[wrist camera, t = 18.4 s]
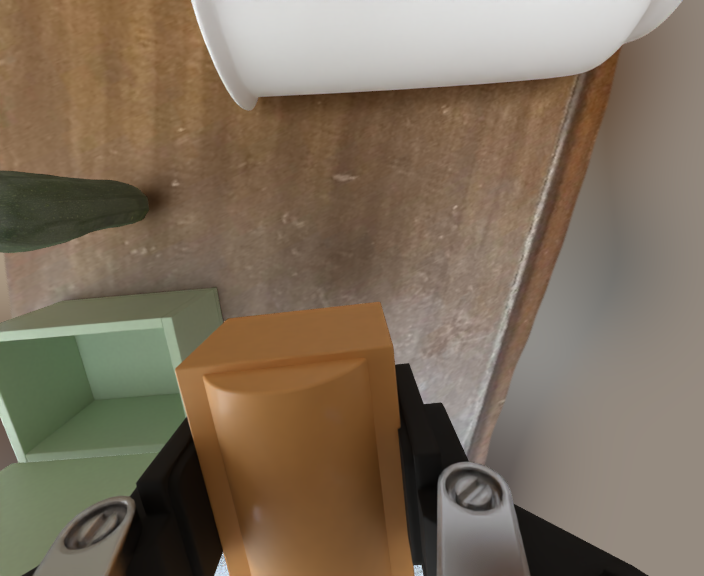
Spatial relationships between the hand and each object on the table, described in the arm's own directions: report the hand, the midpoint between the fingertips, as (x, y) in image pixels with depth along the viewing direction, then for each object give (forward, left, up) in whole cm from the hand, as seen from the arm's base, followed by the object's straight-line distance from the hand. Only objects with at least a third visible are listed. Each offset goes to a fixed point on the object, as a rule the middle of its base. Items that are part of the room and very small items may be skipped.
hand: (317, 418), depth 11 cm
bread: (0, 0, 0) cm, 0 cm away
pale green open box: (+7, -20, -24) cm, 32 cm away
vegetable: (-7, -17, -24) cm, 30 cm away
